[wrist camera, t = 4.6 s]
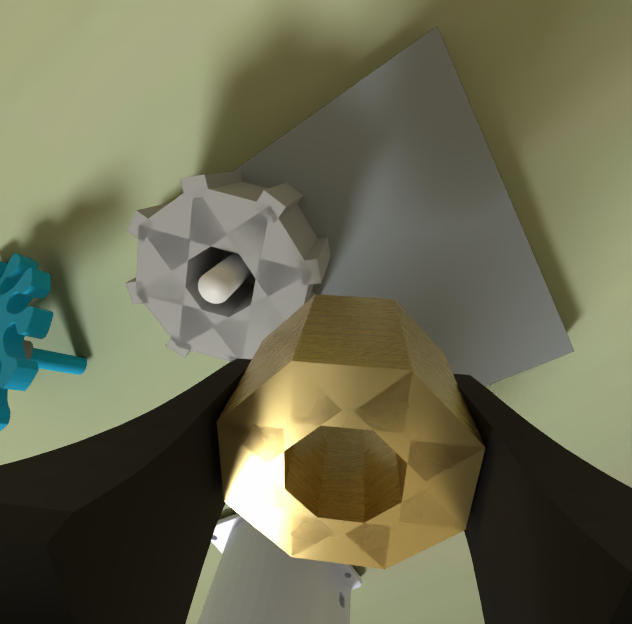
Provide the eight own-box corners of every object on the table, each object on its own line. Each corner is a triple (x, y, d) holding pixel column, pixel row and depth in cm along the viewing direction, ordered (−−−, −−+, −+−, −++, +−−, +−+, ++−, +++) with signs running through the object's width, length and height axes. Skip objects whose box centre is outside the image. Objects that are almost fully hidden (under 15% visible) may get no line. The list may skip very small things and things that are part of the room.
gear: (36, 217, 18) (-11, 435, 14) (143, 267, 23) (131, 438, 19) (-72, 291, 22) (-133, 475, 18) (37, 320, 27) (9, 469, 23)
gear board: (562, 339, 19) (641, 412, 13) (309, 441, 23) (292, 527, 18) (429, 30, 14) (467, -42, 9) (152, 227, 19) (70, 254, 14)
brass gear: (452, 302, 10) (502, 377, 7) (426, 456, 13) (453, 577, 9) (261, 291, 11) (211, 354, 7) (266, 440, 13) (228, 548, 9)
